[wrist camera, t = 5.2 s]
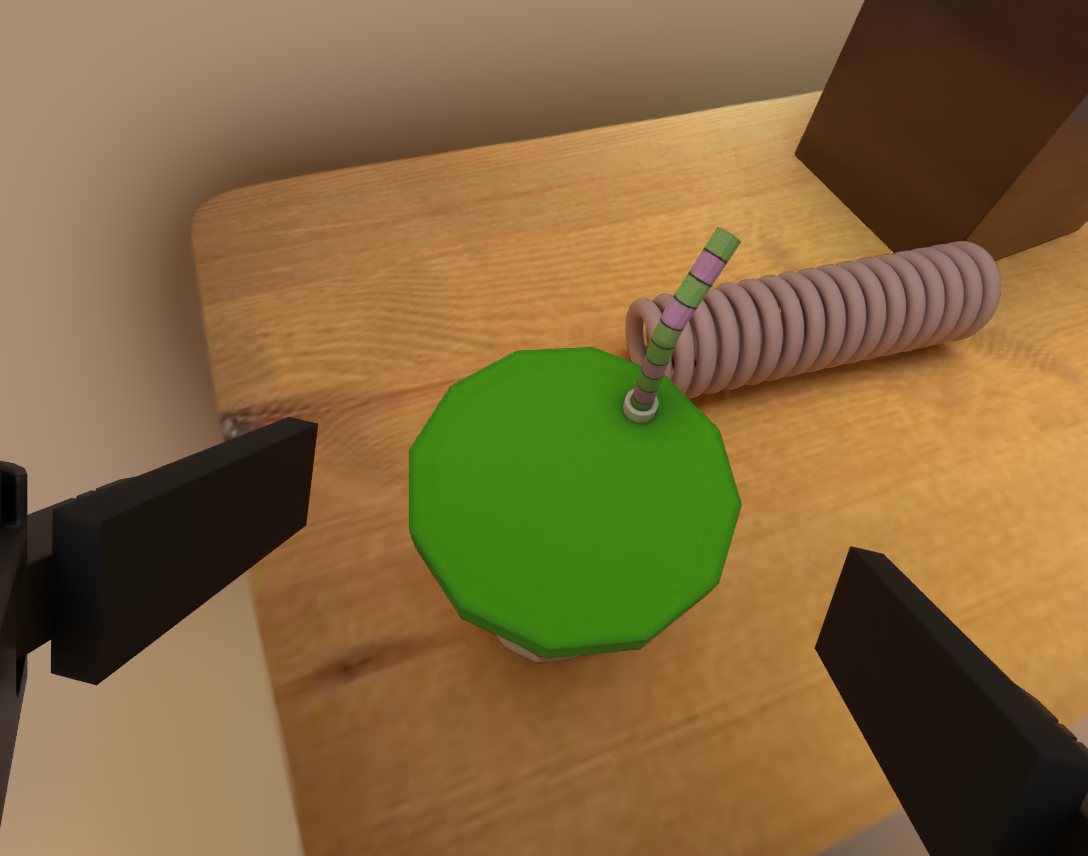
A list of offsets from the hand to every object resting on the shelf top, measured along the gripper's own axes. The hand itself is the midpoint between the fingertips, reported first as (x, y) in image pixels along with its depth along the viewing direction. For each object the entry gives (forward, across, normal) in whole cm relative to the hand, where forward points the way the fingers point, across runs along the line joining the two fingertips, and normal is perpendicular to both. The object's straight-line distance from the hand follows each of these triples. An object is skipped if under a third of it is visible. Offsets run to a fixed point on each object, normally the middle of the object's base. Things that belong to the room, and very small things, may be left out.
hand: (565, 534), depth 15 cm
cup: (+7, 0, -6) cm, 9 cm away
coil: (+18, +9, +4) cm, 20 cm away
